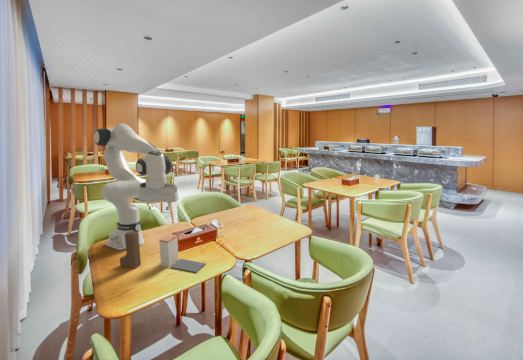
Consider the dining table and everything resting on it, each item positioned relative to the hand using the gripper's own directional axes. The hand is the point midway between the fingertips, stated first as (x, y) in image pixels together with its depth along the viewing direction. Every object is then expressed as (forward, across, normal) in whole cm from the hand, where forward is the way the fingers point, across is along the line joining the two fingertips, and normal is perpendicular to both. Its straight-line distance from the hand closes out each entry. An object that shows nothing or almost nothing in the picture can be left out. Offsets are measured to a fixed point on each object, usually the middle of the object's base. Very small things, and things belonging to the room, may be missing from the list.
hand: (159, 209), depth 142 cm
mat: (+28, -16, +4) cm, 32 cm away
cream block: (+28, -5, +2) cm, 28 cm away
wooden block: (+28, +14, +8) cm, 32 cm away
